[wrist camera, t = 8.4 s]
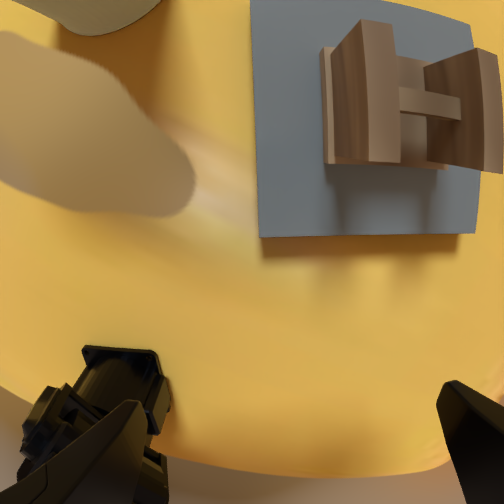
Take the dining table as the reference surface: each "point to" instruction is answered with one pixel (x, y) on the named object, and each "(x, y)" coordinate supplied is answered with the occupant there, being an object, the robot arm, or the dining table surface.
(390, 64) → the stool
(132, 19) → the can
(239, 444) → the dining table surface
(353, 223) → the slab
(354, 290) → the dining table surface
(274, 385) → the dining table surface
